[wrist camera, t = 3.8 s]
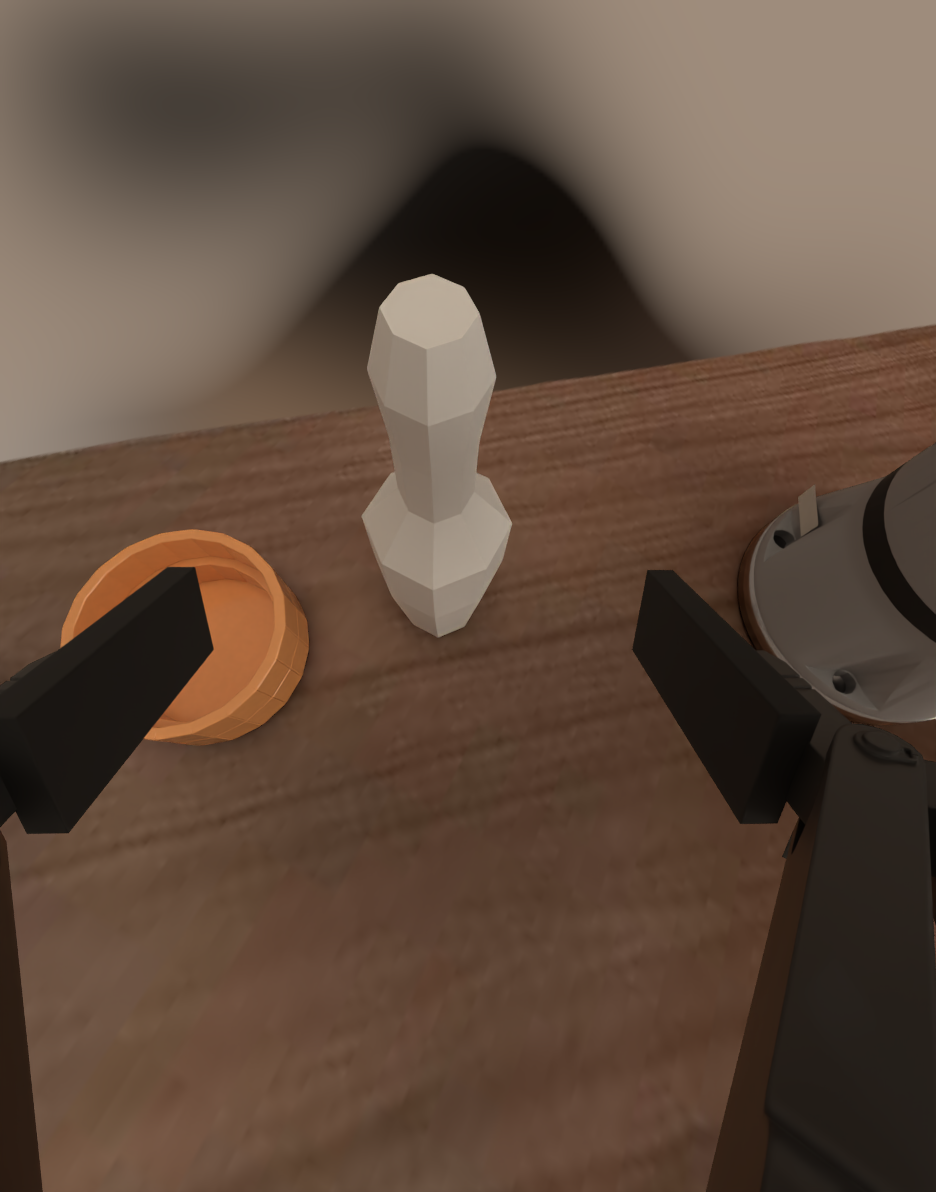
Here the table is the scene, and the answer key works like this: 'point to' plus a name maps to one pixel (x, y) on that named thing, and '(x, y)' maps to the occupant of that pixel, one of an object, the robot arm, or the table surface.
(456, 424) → the low poly bottle
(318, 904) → the table surface
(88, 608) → the bowl
